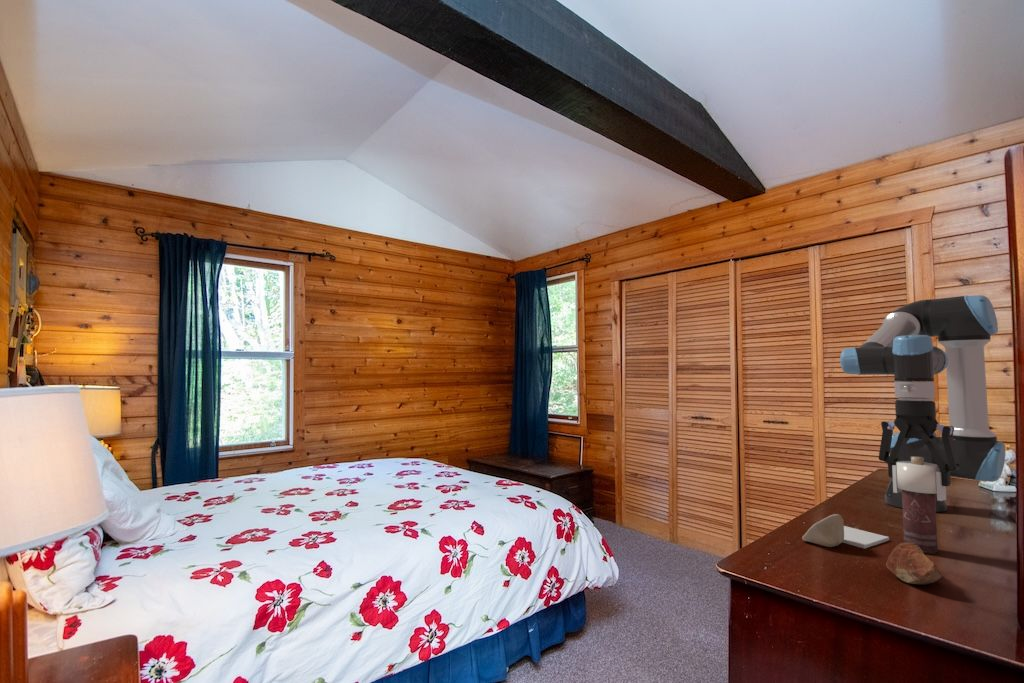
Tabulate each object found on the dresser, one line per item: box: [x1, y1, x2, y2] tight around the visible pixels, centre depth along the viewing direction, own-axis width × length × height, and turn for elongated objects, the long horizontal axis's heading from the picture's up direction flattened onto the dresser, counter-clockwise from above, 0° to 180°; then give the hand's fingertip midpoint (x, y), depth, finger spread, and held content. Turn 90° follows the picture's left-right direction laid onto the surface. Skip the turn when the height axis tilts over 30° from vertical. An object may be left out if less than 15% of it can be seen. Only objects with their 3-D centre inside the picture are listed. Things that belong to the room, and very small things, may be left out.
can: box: [902, 490, 939, 555], centre depth 118 cm, size 6×6×14 cm
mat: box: [842, 525, 890, 549], centre depth 126 cm, size 12×12×1 cm
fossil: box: [885, 542, 943, 585], centre depth 100 cm, size 13×8×10 cm
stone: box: [801, 513, 845, 548], centre depth 120 cm, size 10×7×10 cm
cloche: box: [896, 456, 940, 494], centre depth 118 cm, size 8×8×8 cm
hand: (919, 495), depth 118 cm, fingers closed on cloche, 8 cm apart
